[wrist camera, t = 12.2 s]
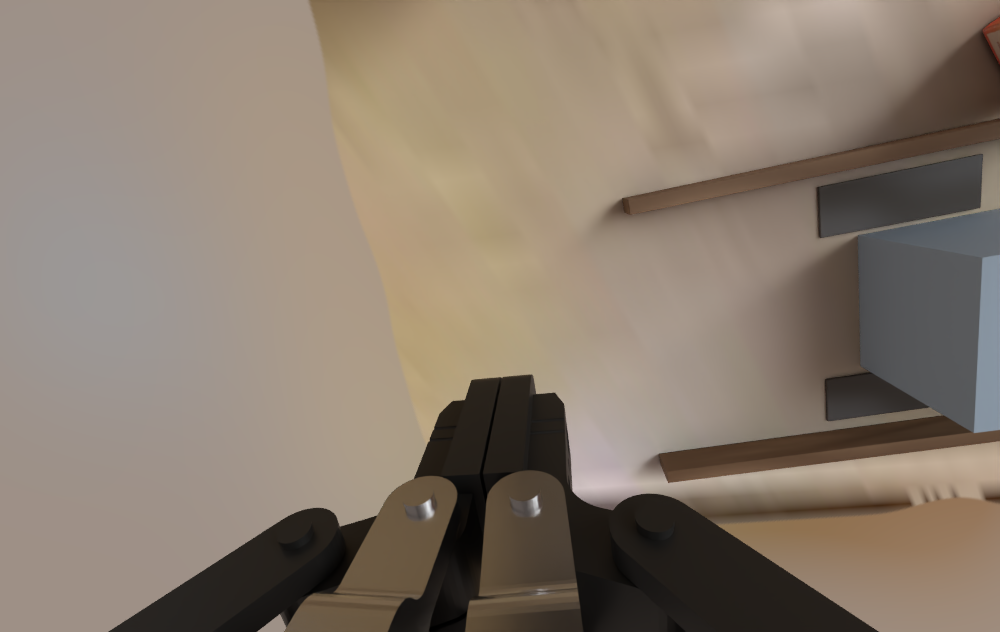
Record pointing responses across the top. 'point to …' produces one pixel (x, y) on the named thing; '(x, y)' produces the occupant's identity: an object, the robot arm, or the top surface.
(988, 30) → the cracker box
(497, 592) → the robot arm
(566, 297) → the top surface
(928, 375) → the slate block
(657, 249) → the top surface
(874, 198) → the tray
